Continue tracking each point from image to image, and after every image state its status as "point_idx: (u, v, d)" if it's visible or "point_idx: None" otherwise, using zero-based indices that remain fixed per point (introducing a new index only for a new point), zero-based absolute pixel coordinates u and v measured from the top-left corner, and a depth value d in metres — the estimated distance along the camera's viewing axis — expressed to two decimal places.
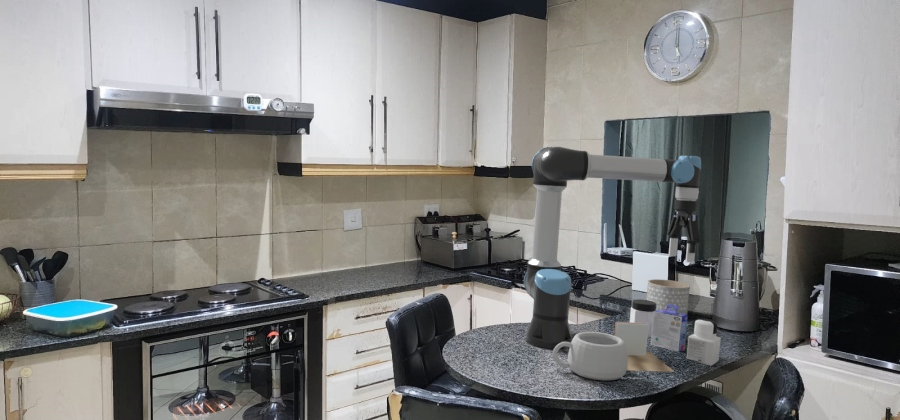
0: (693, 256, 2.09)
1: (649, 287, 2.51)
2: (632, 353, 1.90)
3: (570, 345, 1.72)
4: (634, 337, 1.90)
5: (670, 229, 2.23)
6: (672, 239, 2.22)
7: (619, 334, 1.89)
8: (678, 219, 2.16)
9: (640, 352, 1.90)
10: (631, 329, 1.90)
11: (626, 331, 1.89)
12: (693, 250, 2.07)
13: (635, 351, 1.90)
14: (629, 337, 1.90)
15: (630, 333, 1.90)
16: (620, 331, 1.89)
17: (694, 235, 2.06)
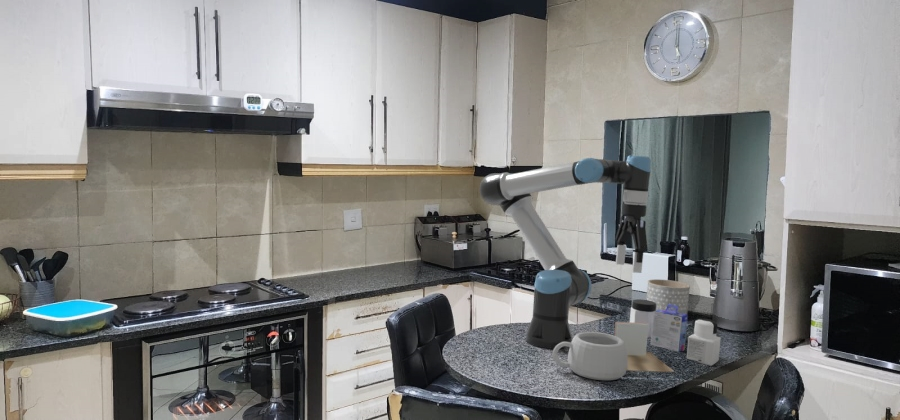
0: (640, 266, 1.91)
1: (649, 287, 2.51)
2: (632, 353, 1.90)
3: (570, 345, 1.72)
4: (634, 337, 1.90)
5: (618, 235, 2.05)
6: (620, 246, 2.04)
7: (619, 334, 1.89)
8: (626, 225, 1.98)
9: (640, 352, 1.90)
10: (631, 329, 1.90)
11: (626, 331, 1.89)
12: (641, 260, 1.90)
13: (635, 351, 1.90)
14: (629, 337, 1.90)
15: (630, 333, 1.90)
16: (620, 331, 1.89)
17: (641, 243, 1.88)
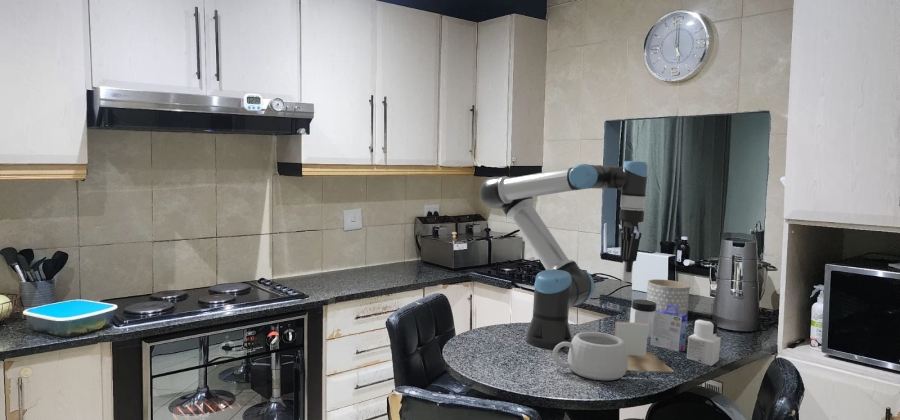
0: (630, 275, 1.96)
1: (649, 287, 2.51)
2: (632, 353, 1.90)
3: (570, 345, 1.72)
4: (634, 337, 1.90)
5: (622, 248, 1.99)
6: None
7: (619, 334, 1.89)
8: (624, 230, 1.96)
9: (640, 352, 1.90)
10: (631, 329, 1.90)
11: (626, 331, 1.89)
12: (630, 269, 1.95)
13: (635, 351, 1.90)
14: (629, 337, 1.90)
15: (630, 333, 1.90)
16: (620, 331, 1.89)
17: (631, 254, 1.92)
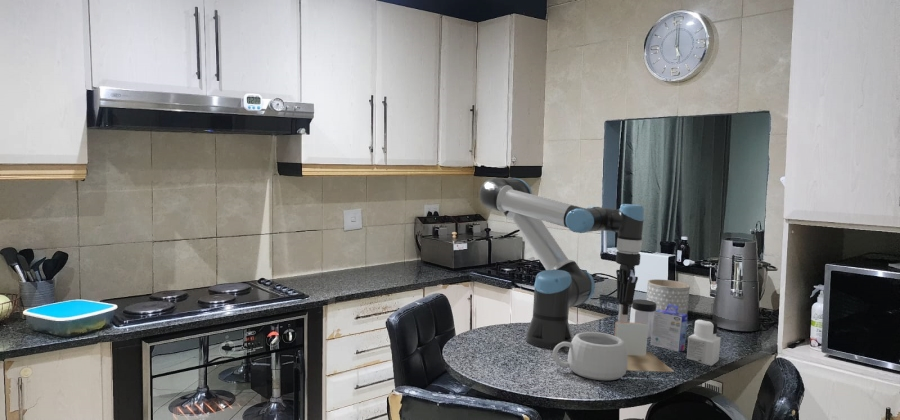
0: (626, 317, 1.97)
1: (649, 287, 2.51)
2: (632, 353, 1.90)
3: (570, 345, 1.72)
4: (634, 337, 1.90)
5: (618, 290, 2.00)
6: None
7: (619, 334, 1.89)
8: (621, 272, 1.97)
9: (640, 352, 1.90)
10: (631, 329, 1.90)
11: (626, 331, 1.89)
12: (626, 312, 1.96)
13: (635, 351, 1.90)
14: (629, 337, 1.90)
15: (630, 333, 1.90)
16: (620, 331, 1.89)
17: (628, 298, 1.93)
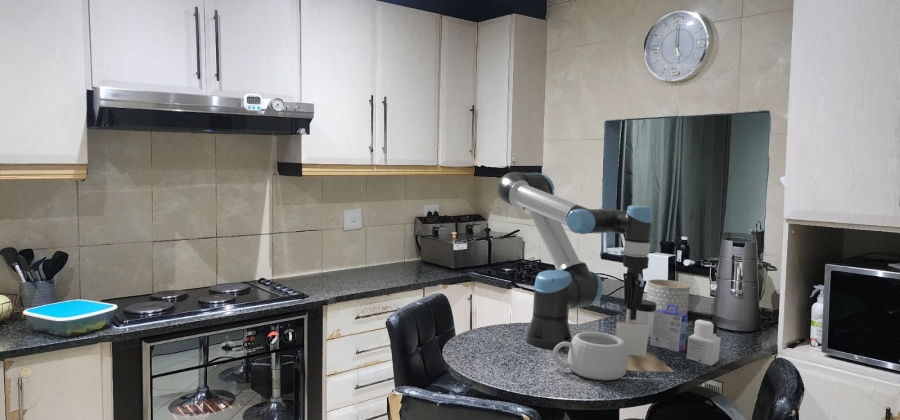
0: None
1: (649, 287, 2.51)
2: (632, 353, 1.90)
3: (570, 345, 1.72)
4: (635, 337, 1.89)
5: (625, 295, 1.94)
6: None
7: (619, 335, 1.89)
8: (628, 276, 1.91)
9: (640, 352, 1.90)
10: (632, 330, 1.89)
11: (627, 332, 1.89)
12: (634, 317, 1.89)
13: (635, 351, 1.90)
14: (629, 337, 1.89)
15: (631, 334, 1.89)
16: (620, 331, 1.89)
17: (636, 302, 1.87)
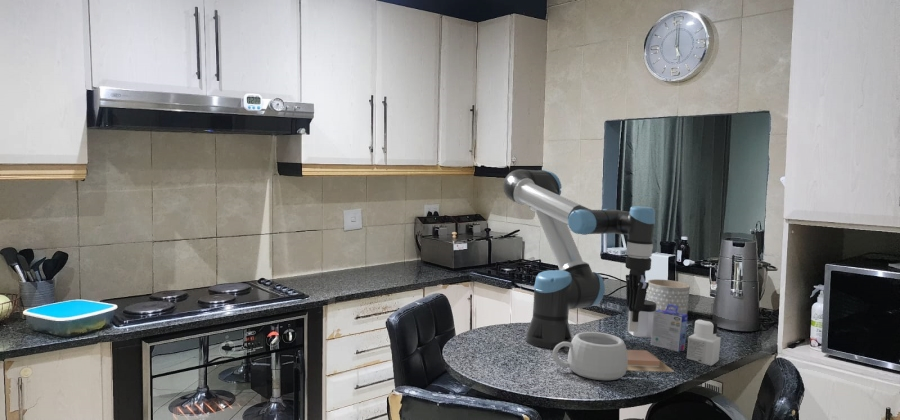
0: (636, 325, 1.89)
1: (649, 287, 2.51)
2: None
3: (570, 345, 1.72)
4: None
5: (628, 296, 1.92)
6: None
7: None
8: (631, 278, 1.89)
9: None
10: None
11: None
12: (636, 319, 1.87)
13: None
14: None
15: None
16: None
17: (638, 304, 1.85)
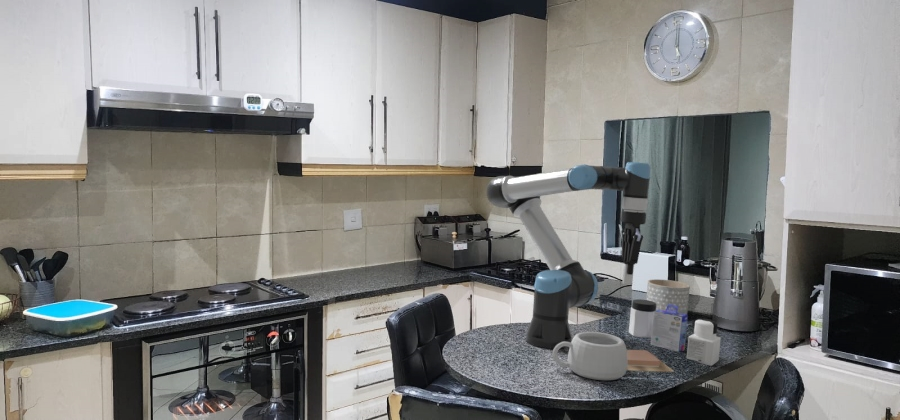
0: (631, 277, 1.94)
1: (649, 287, 2.51)
2: None
3: (570, 345, 1.73)
4: None
5: (623, 250, 1.97)
6: None
7: None
8: (626, 232, 1.94)
9: None
10: None
11: None
12: (631, 272, 1.93)
13: None
14: None
15: None
16: None
17: (633, 257, 1.90)
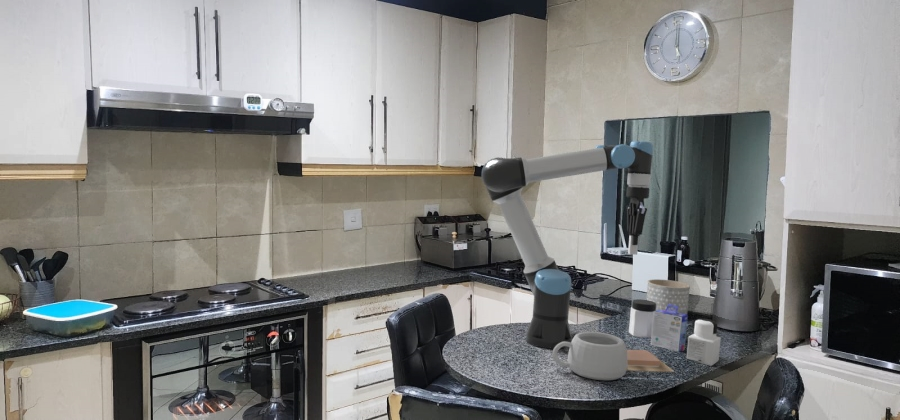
0: (636, 248, 2.10)
1: (649, 287, 2.51)
2: None
3: (570, 345, 1.73)
4: None
5: (628, 224, 2.13)
6: None
7: None
8: (631, 206, 2.10)
9: None
10: None
11: None
12: (636, 242, 2.09)
13: None
14: None
15: None
16: None
17: (637, 228, 2.06)
